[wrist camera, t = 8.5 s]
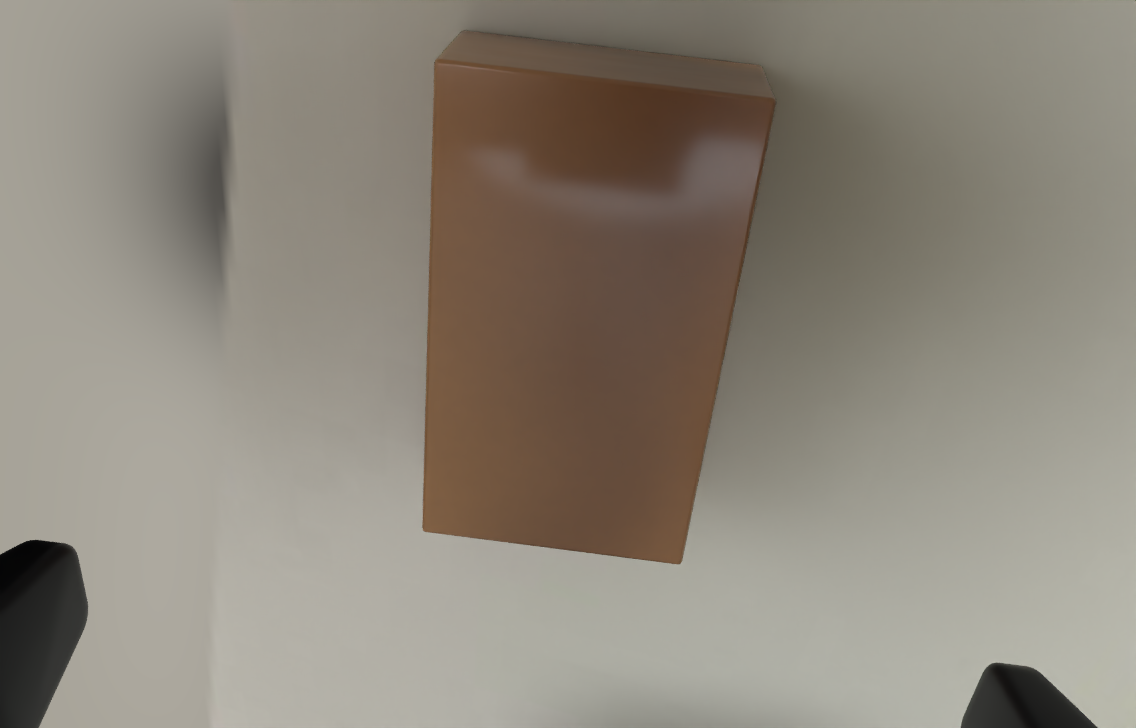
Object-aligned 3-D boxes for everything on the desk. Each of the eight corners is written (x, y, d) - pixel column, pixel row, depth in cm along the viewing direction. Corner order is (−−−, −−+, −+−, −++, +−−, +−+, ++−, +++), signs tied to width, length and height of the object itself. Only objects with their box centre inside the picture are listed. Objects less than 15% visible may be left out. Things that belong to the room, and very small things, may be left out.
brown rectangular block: (443, 464, 18) (421, 533, 16) (460, 28, 14) (433, 58, 12) (679, 494, 18) (682, 566, 16) (762, 64, 14) (777, 99, 12)
